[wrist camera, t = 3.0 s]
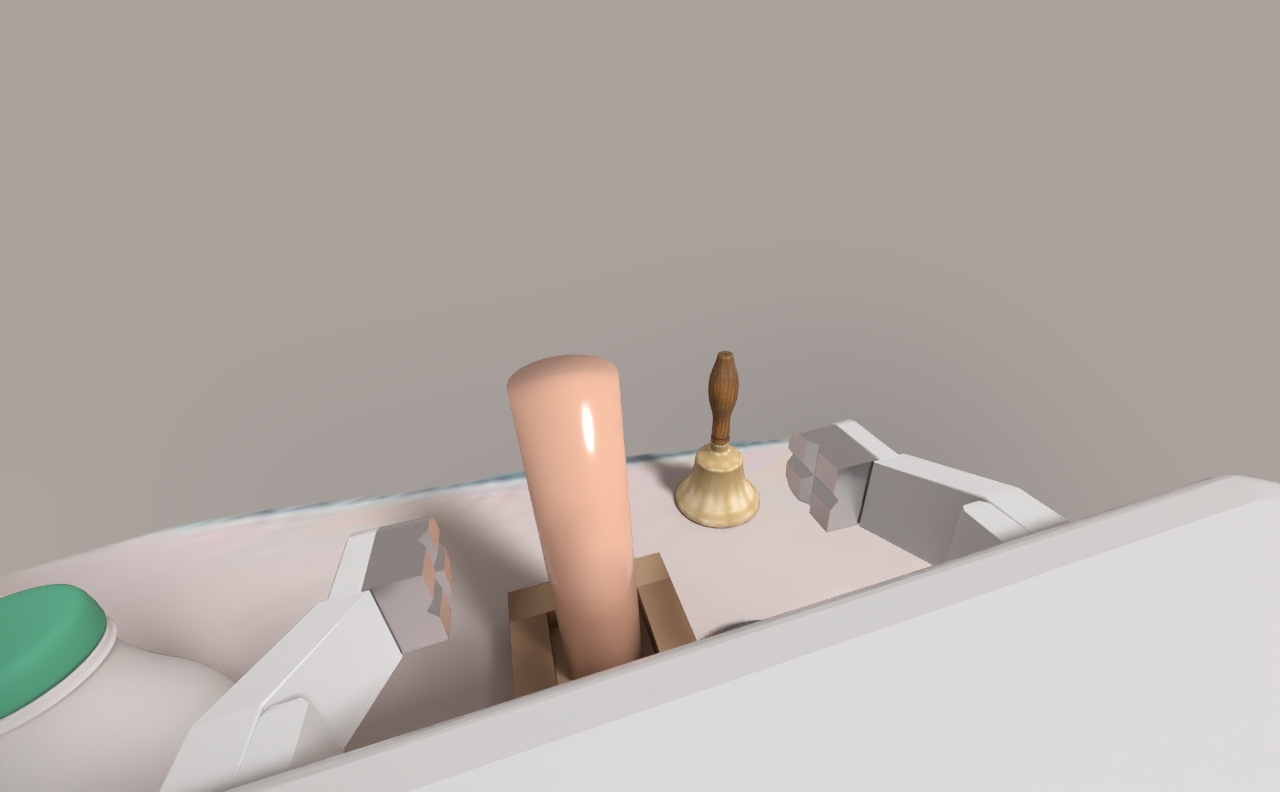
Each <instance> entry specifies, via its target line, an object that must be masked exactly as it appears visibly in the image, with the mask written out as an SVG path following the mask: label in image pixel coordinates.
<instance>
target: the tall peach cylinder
mask: <svg viewBox="0 0 1280 792" xmlns="http://www.w3.org/2000/svg"><path fill="white" fill-rule="evenodd" d="M507 392H508V396H509V401H510V405H511V410H512V414H513V419H514V424H515V428H516V433H517V437H518V442H519V446H520V451H521V456H522V460H523V465H524V470H525V474H526V479H527V483H528V488H529V492H530V497H531V502H532V506H533V511H534V515H535V520H536V524H537V529H538V534H539V538H540V543H541V547H542V552H543V557H544V561H545V566H546V570H547V575H548V579H549V584H550V589H551V593H552V598H553V602H554V607H555V611H556V616H557V621H558V625H559V630H560V634H561V639H562V644H563V648H564V653H565V657H566V662H567V666H568V671H569V675H570V677H571V679H572V680H575V679H579V678H582V677H585V676H588V675H591V674H594V673H597V672H601V671H604V670H607V669H610V668H613V667H616V666H619V665H623V664H626V663H629V662H632V661H635V660H638V659H641V658H643V656H642V643H641V632H640V620H639V608H638V597H637V585H636V573H635V562H634V550H633V538H632V527H631V515H630V503H629V492H628V480H627V469H626V457H625V445H624V434H623V422H622V410H621V399H620V388H619V375H618V370H617V368H616V367H615V366H614V365H613V364H612V363H611V362H609V361H607V360H605V359H602V358H599V357H595V356H590V355H562V356H555V357H550V358H545V359H542V360H539V361H536V362H533V363H531V364H528V365H526V366H525V367H523V368H521V369H519V370H518V371H517V372H515V373H514V374H513V375H512V376H511V378H510V379H509V380H508V383H507Z"/></svg>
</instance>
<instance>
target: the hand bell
mask: <svg viewBox="0 0 1280 792" xmlns="http://www.w3.org/2000/svg"><path fill="white" fill-rule="evenodd" d="M738 386H739V381H738V374H737V370H736V367H735V363H734V358H733V354H732V353H731V352H729V351H722V352H719V353H718V356H717V360H716V362H715V364H714V367H713V369H712V372H711V374H710V379H709V402H710V406H711V409H712V413H713V425H712V435H711V442H710V444H707V445H704V446H703V447H701V448H700V449H699V450H698V451H697V453H696V456H695V463H694V467H693V471H692V473H691V475H689V476H688V477H686V478H685V479H684V480H683V481H682V482H681V484H680V485H679V487H678V489H677V492H676V502H677V505H678V508H679V509H680V511H681V512H682V513H683V514H684V515H685V516H686V517H687V518H689V519H691V520H692V521H694V522H696V523H699V524H701V525H704V526H708V527H715V528H728V527H734V526H738V525H741V524H743V523H745V522H747V521H749V520H750V519H751V518H752V517H753V516H754V515H755V514H756V512H757V511H758V508H759V505H760V499H759V495H758V493H757V491H756V489H755V487H754V486H753V485H752V484H751V483H750V482H749V481H748V480H747V479H746V478H745V475H744V469H743V459H742V455H741V453H740V452H739V451H738V450H737V449H736V448H735V447H733V446H731V445H729V438H730V437H729V432H730V416H731V413H732V411H733V408H734V406H735V403H736V400H737V395H738Z"/></svg>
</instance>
